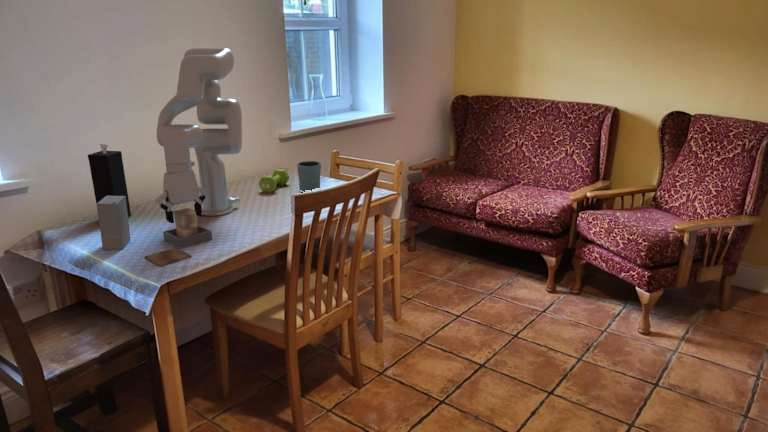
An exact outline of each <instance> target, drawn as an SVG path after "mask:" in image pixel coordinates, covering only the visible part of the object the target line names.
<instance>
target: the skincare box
mask: <svg viewBox="0 0 768 432" xmlns="http://www.w3.org/2000/svg"><path fill="white" fill-rule="evenodd" d="M96 209H97V210H96V211H97V217H98V225H99V230H100V231H99V232H100V237H101V245H102V250H103V251H106V250H107V251H108V250H111V251H113V250H116V251H117V250H124V248H126V246H127V245H128V244H129V243H130V242H131V240H132V238H131V231H130V224H129V221H130V220H129V217H128V213H127V204H126V196H105V197H104V198H103V199H102V200H100V201H99V202H98V203H97V204H96Z"/></svg>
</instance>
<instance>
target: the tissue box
mask: <svg viewBox="0 0 768 432" xmlns="http://www.w3.org/2000/svg"><path fill="white" fill-rule="evenodd" d="M99 145H100V149H101V150H99V151H97V152H96V151H95V152H93V153H90V154H87V159H88V164H89V168H90V169H89V170H90V175H91V181H92V187H93V192H94V197H95V204H96V205H97V203H98V202H99V201H100V200H102V199H103V198H104V197H105V196H126V204H127V213H128V218H130V217H131V216H132V214H131V213H132V211H131V207H130V200H129V193H128V188H127V181H126V175H125V169H124V162H123V155H122V151H121V150H107V148H108V145H107V144H103V143H99Z"/></svg>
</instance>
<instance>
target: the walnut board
mask: <svg viewBox="0 0 768 432" xmlns="http://www.w3.org/2000/svg"><path fill="white" fill-rule="evenodd" d="M143 257H144V259H146V260H147V261H149V262H150V263H153V264H155V265H156V266H158V267H164V266H167V265H169V264H173V263H177V262H180V261H183V260H187V259H189V258H192V255H191V254H189V253H187V252H185V251H184V250H182V249H181V248H179V247H177V246H175V247H172V248H168V249H165V250H162V251H158V252H154V253H151V254H148V255H147V254H146V255H145V256H143Z"/></svg>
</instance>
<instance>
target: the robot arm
mask: <svg viewBox="0 0 768 432" xmlns="http://www.w3.org/2000/svg"><path fill="white" fill-rule="evenodd" d="M234 66H235V57H234V54H233V52H232V51H231V50H230V49H229V48H225V47H197V48H196V47H195V48H190V49H187V50H186V51H185V52H184V54H183V58H182V60H180V65H179V72H178V81H177V85H176V86H177V87H176V93H175V96H173V97H172V98H170V100H169V101H168V102H167V103H166V104H165V105H164V106H163V108H162V109H161V111H160V113H159V115H158V118H157V124H156V125H157V126H156V140H157V142H158V145H160V147H162V148H163V152H164V153H163V154H164V159H165V161H164V162H165V168H166V172H164V173H163V186H162V187H163V193H162V194H160V195H159V196H158V197H156V198H155V202H156V203H157V205H158V207H159V208H160V209H162V210H163V211H164V212H165V220H166V221H167V222H168V223H169V224H175V217H174V211H173V210H172V209H173V208H174V206H175V205H179V204H185V203H189V202H193V203H194V204H193V208H194V209H193V210H195V211H196V217H199V218H200V217H201V218H202V216H207V217H210V216H211V217H214V216H223V215H227V214H229V213H232V212H233V210H234V206H233V204H236V203H239V202H241V199H240V197H239V196H237V197H234V198H233V197H229V195H228V194H229V193H228V185H227V176H226V175H227V174H226V165H225V163H224V161H223V160H222V159H221V157H220V156H219V155H221V156H222V155H225V156H226V155H238V154H239V153H241V150H242V147H243V121H242V120H243V115H242V107H241V105H240V103H239V101H238V100H236V99H235V98H234V99H233V98H222V95H221V91H222V90H221V84H220V83H219V81H221V80H223V79H225V78H226V77H227V76H228V75H229V74H230V73H231V72H232V70H233V68H234ZM195 107H196V116H197V120H198V122H199V124H202V125H205V126H206V125H207V126H227V128H218V127H217V128H215V127H214V128H210V127H209V128H201V127H200V126H199V125H196V124H182V123H181V124H178V123H177V124H176V123H175V124H173V123H172V122H173V121H174V120H175V118H176V117H178V116H179V115H180V114H182V113H185V112H186V111H188V110H191V109H192V108H195ZM190 149H194V151H195V156H196V160H197V161H196V162H197V165H198V166H197V168H198V174H199V175H198V176H199V185H200V186H198V180H197V177H196V173H195V171H194V170H193V166H196V164H195V161H192V160H191V152H190ZM199 192H200V193H199ZM163 201H164V202H165V204H164V202H163Z"/></svg>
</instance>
